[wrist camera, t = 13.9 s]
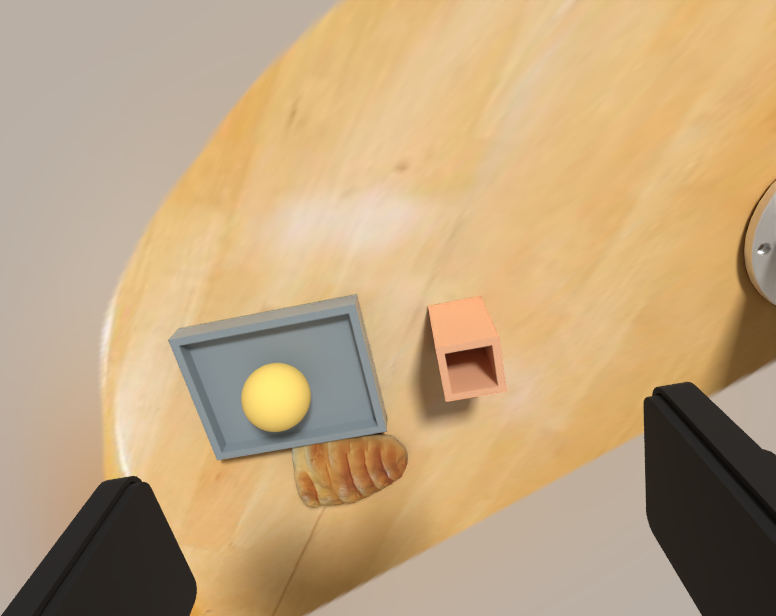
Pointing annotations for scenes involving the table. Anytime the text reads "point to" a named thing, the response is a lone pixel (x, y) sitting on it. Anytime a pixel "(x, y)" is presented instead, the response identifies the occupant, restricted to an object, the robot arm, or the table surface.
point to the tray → (289, 346)
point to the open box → (467, 349)
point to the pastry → (347, 468)
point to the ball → (276, 397)
